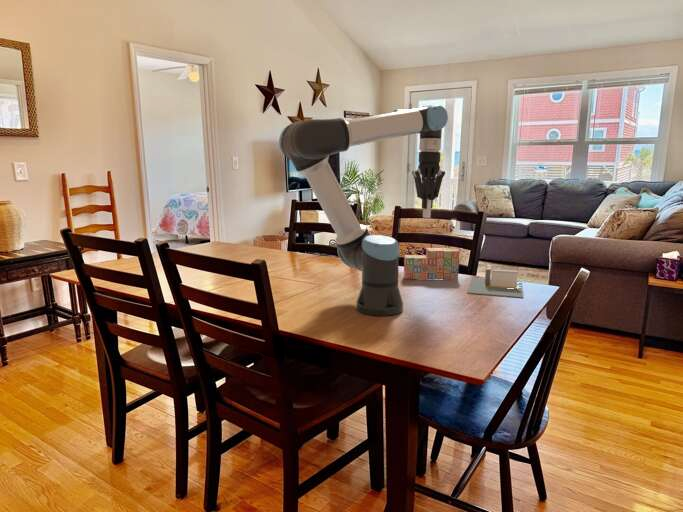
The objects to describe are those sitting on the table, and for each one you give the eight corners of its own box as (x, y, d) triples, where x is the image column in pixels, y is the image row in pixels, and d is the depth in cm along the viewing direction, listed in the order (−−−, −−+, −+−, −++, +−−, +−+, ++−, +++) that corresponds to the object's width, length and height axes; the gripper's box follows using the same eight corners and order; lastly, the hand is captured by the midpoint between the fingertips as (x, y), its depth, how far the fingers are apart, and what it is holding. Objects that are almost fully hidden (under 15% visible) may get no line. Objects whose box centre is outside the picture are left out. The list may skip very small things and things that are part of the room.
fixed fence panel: (489, 286, 183) (490, 269, 182) (485, 285, 183) (486, 268, 182) (490, 280, 191) (491, 264, 190) (486, 280, 192) (487, 263, 191)
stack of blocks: (405, 280, 192) (405, 250, 190) (403, 276, 199) (404, 247, 196) (458, 280, 192) (459, 250, 189) (455, 276, 198) (456, 247, 196)
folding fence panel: (516, 286, 180) (517, 270, 178) (516, 287, 178) (517, 271, 177) (484, 284, 183) (485, 268, 182) (484, 285, 181) (485, 269, 180)
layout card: (522, 298, 167) (523, 296, 167) (467, 293, 173) (467, 292, 173) (521, 282, 188) (521, 281, 188) (471, 278, 194) (471, 277, 194)
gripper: (420, 150, 163) (417, 219, 167) (451, 151, 168) (447, 218, 172) (408, 151, 169) (405, 217, 174) (438, 151, 175) (435, 216, 179)
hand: (426, 217), depth 173 cm, fingers closed
